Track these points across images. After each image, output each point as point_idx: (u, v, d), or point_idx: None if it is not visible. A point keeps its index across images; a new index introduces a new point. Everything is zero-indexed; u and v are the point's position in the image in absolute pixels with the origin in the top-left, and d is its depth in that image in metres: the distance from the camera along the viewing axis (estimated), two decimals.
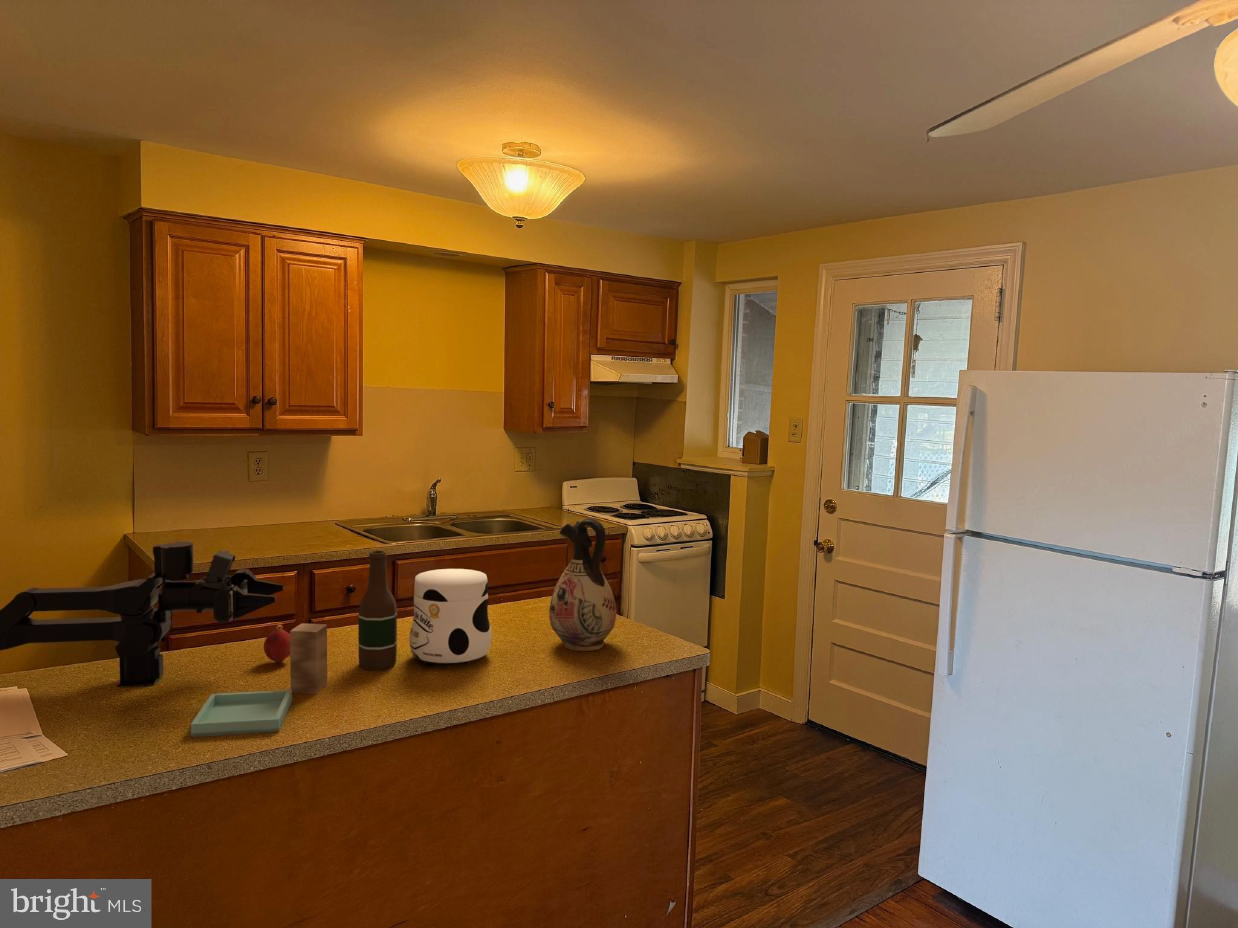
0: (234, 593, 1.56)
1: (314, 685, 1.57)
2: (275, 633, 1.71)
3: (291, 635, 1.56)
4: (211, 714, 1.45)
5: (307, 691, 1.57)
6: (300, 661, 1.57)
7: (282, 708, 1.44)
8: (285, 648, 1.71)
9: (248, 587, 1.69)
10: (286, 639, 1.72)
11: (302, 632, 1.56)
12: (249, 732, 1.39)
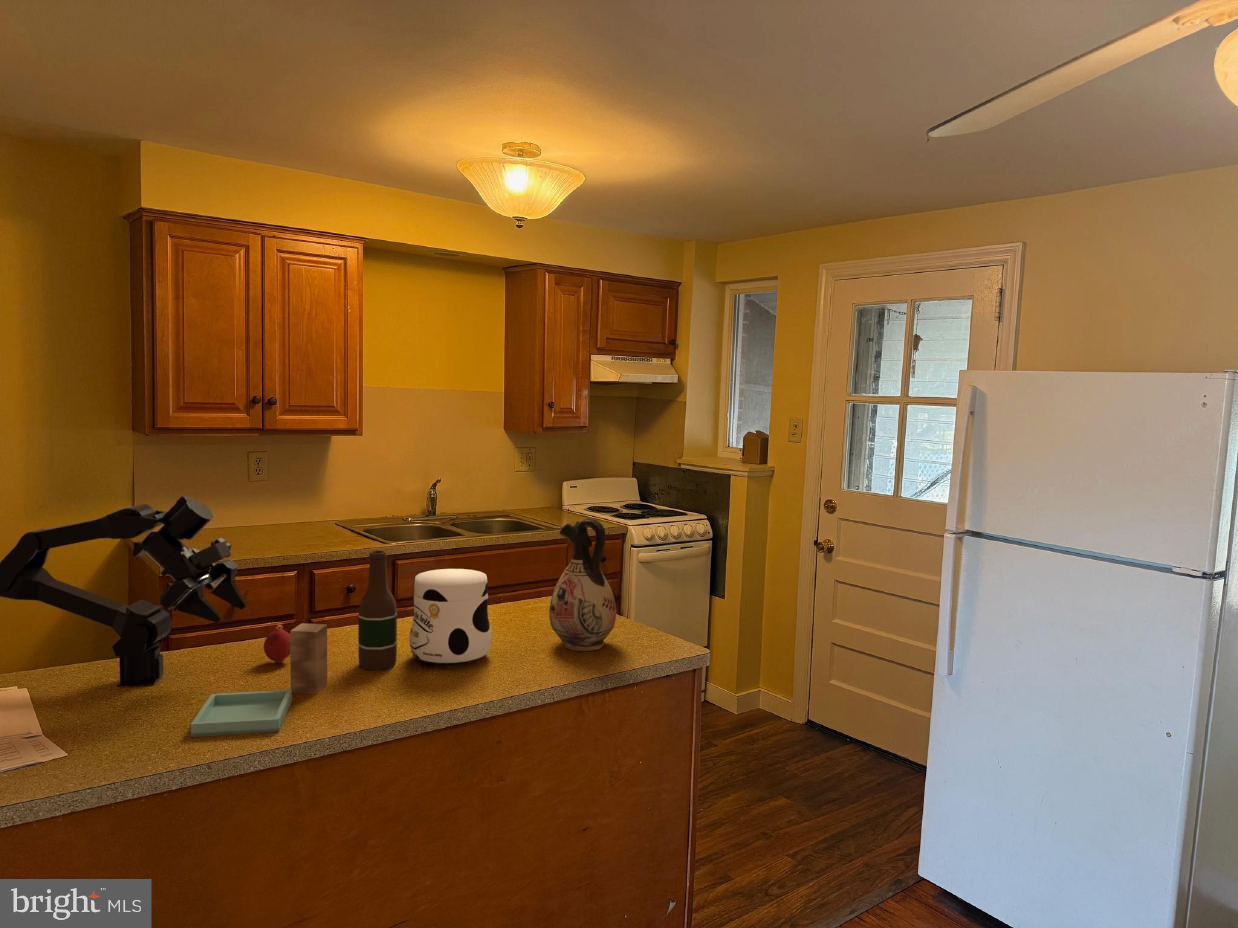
0: (192, 592, 1.51)
1: (314, 685, 1.57)
2: (275, 633, 1.71)
3: (291, 635, 1.56)
4: (211, 714, 1.45)
5: (307, 691, 1.57)
6: (300, 661, 1.57)
7: (282, 708, 1.44)
8: (285, 648, 1.71)
9: (221, 582, 1.64)
10: (286, 639, 1.72)
11: (302, 632, 1.56)
12: (249, 732, 1.39)
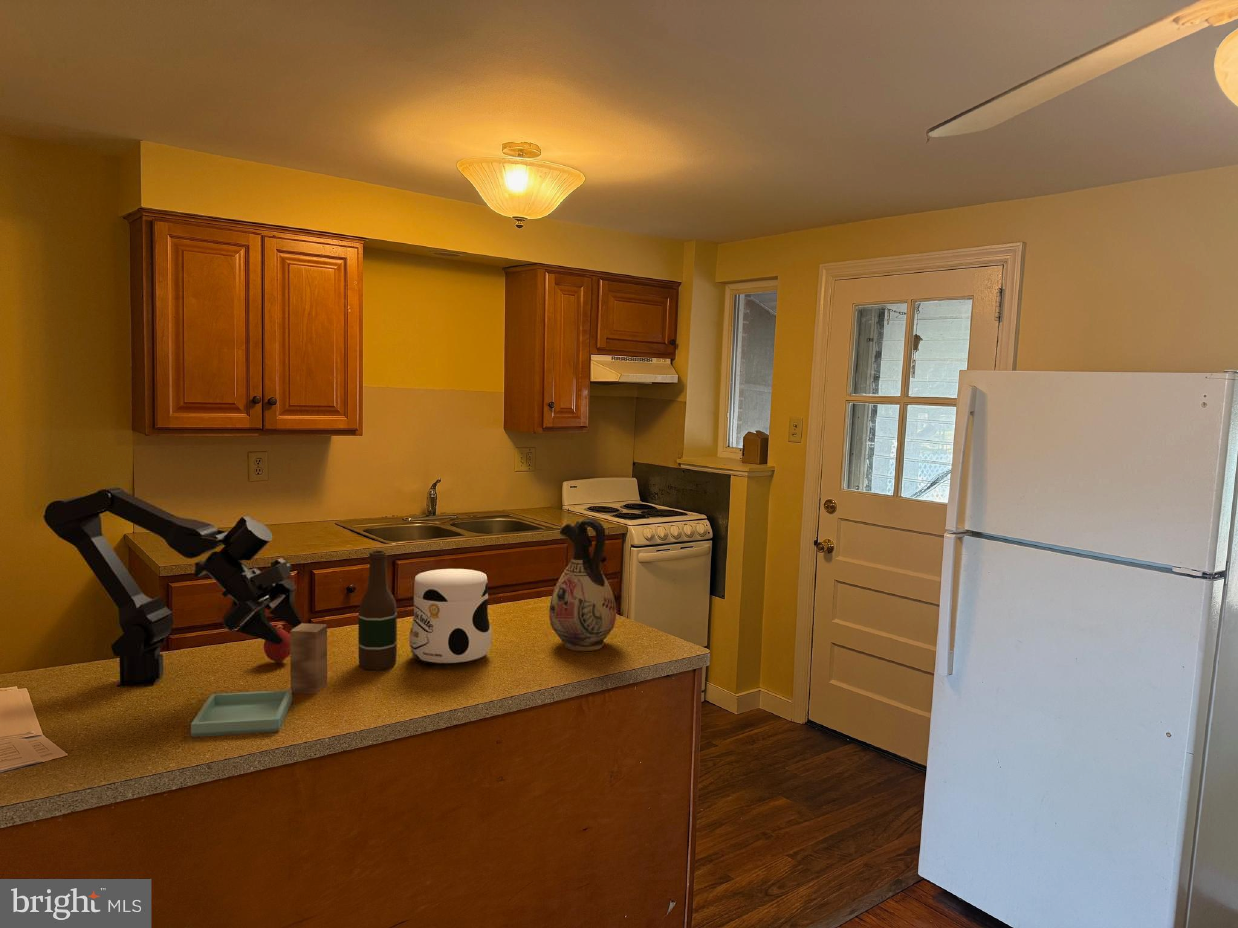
0: (255, 614, 1.50)
1: (314, 685, 1.57)
2: None
3: (291, 635, 1.56)
4: (211, 714, 1.45)
5: (307, 691, 1.57)
6: (300, 661, 1.57)
7: (282, 708, 1.44)
8: (285, 648, 1.71)
9: (280, 603, 1.64)
10: (286, 639, 1.72)
11: (302, 632, 1.56)
12: (249, 732, 1.39)
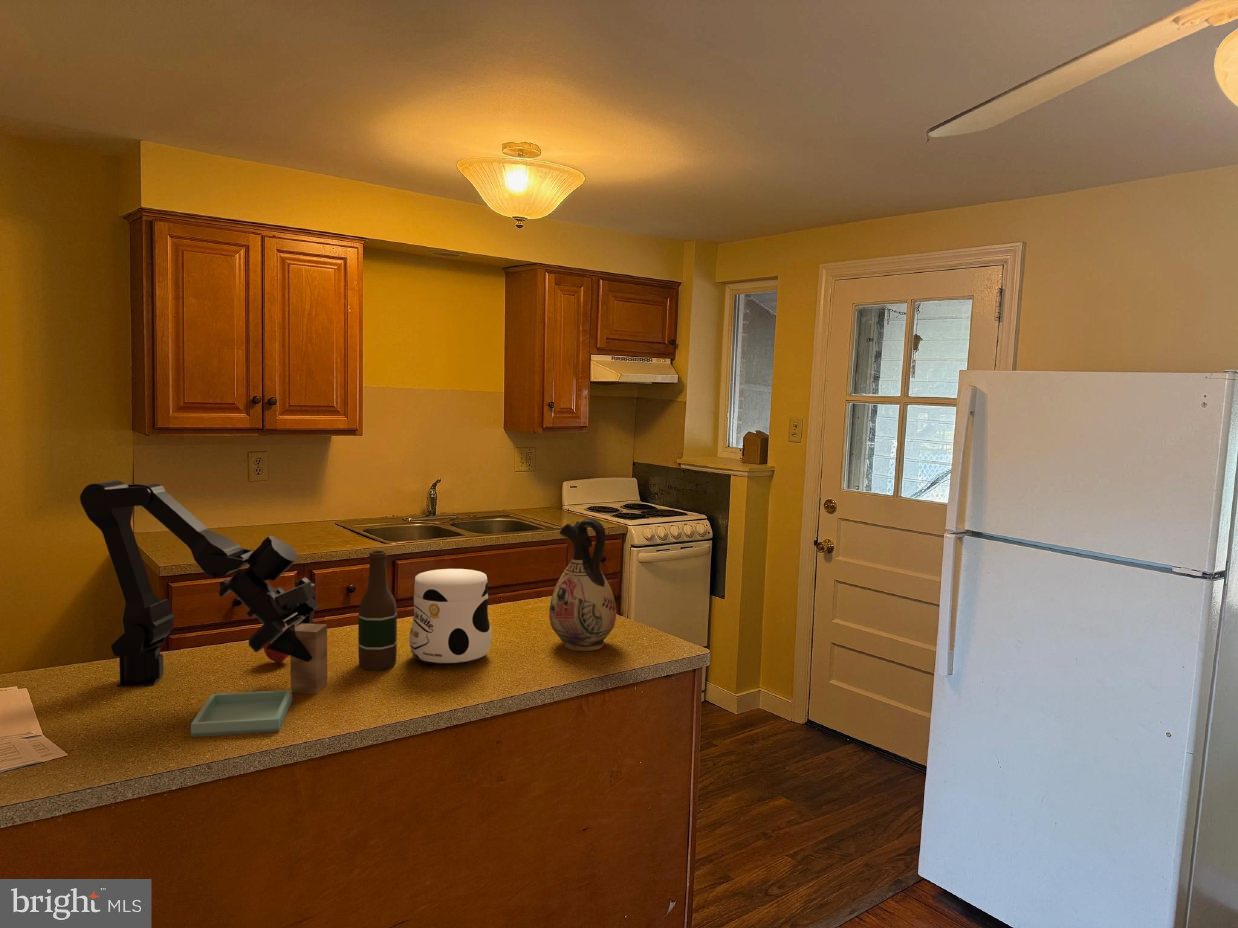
0: (285, 632, 1.53)
1: (314, 685, 1.57)
2: None
3: None
4: (211, 714, 1.45)
5: (307, 691, 1.57)
6: (300, 661, 1.57)
7: (282, 708, 1.44)
8: None
9: (299, 624, 1.62)
10: None
11: (302, 632, 1.56)
12: (249, 732, 1.39)
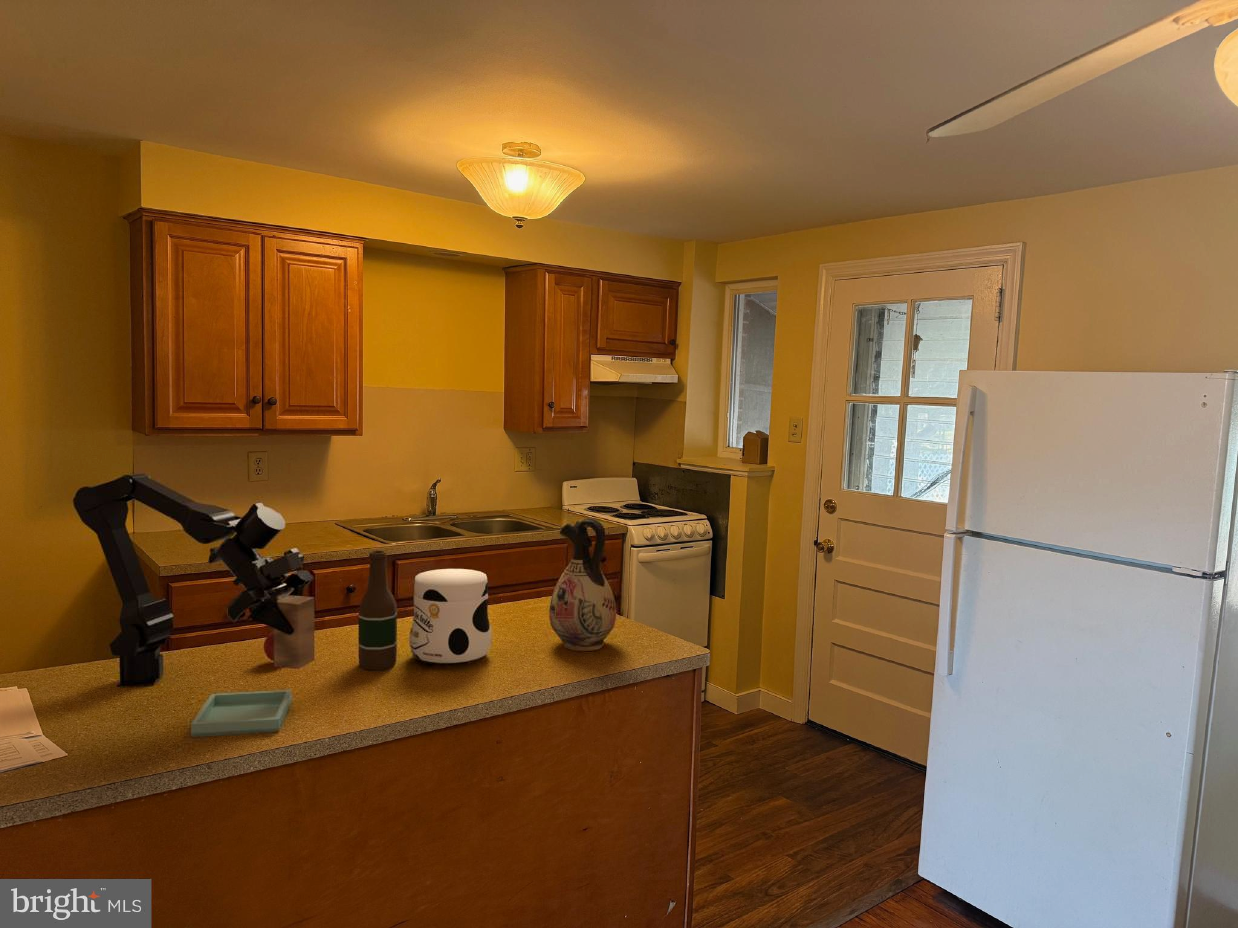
0: (264, 602, 1.47)
1: (296, 660, 1.51)
2: None
3: None
4: (211, 714, 1.45)
5: (290, 665, 1.51)
6: (283, 634, 1.51)
7: (282, 708, 1.44)
8: None
9: None
10: None
11: (285, 603, 1.50)
12: (249, 732, 1.39)
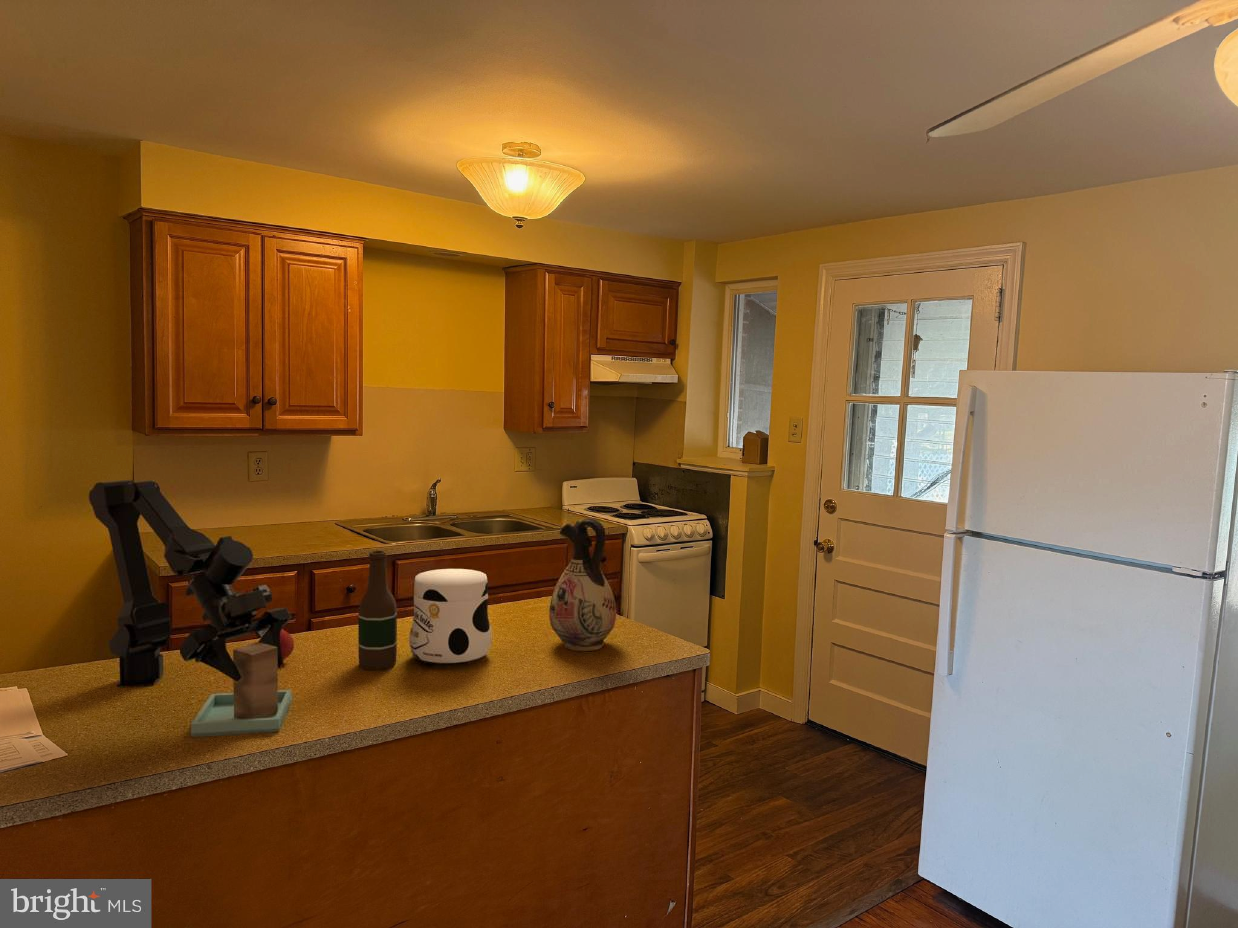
0: (208, 645, 1.38)
1: (251, 713, 1.42)
2: None
3: (234, 654, 1.43)
4: (211, 714, 1.45)
5: (246, 718, 1.42)
6: (240, 684, 1.42)
7: (282, 708, 1.44)
8: (285, 648, 1.71)
9: (265, 633, 1.49)
10: (286, 639, 1.72)
11: (241, 652, 1.42)
12: (249, 732, 1.39)
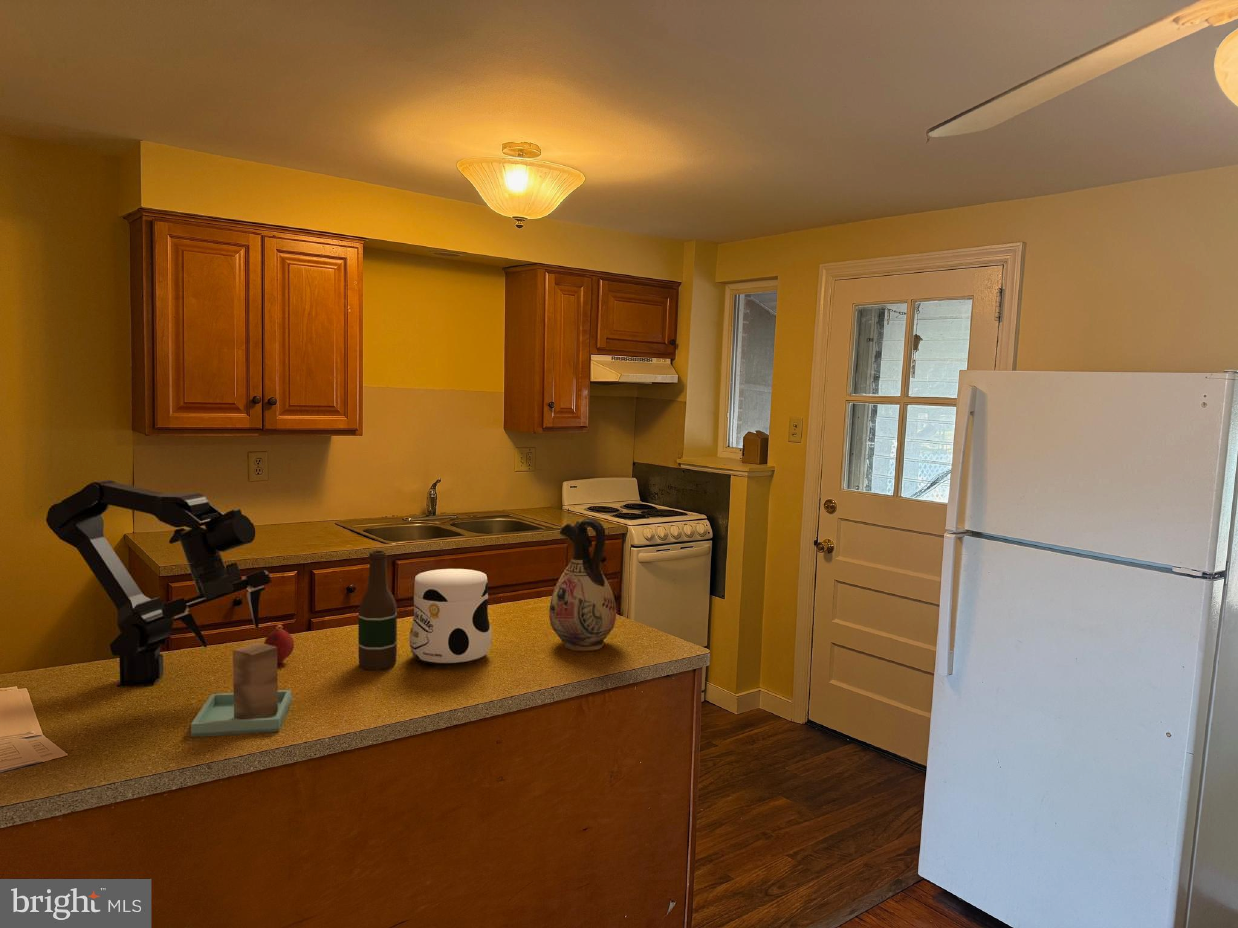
0: (174, 620, 1.50)
1: (251, 713, 1.42)
2: (275, 633, 1.71)
3: (233, 654, 1.43)
4: (211, 714, 1.45)
5: (246, 718, 1.42)
6: (240, 684, 1.42)
7: (282, 708, 1.44)
8: (285, 648, 1.71)
9: (248, 593, 1.59)
10: (286, 639, 1.72)
11: (241, 652, 1.42)
12: (249, 732, 1.39)
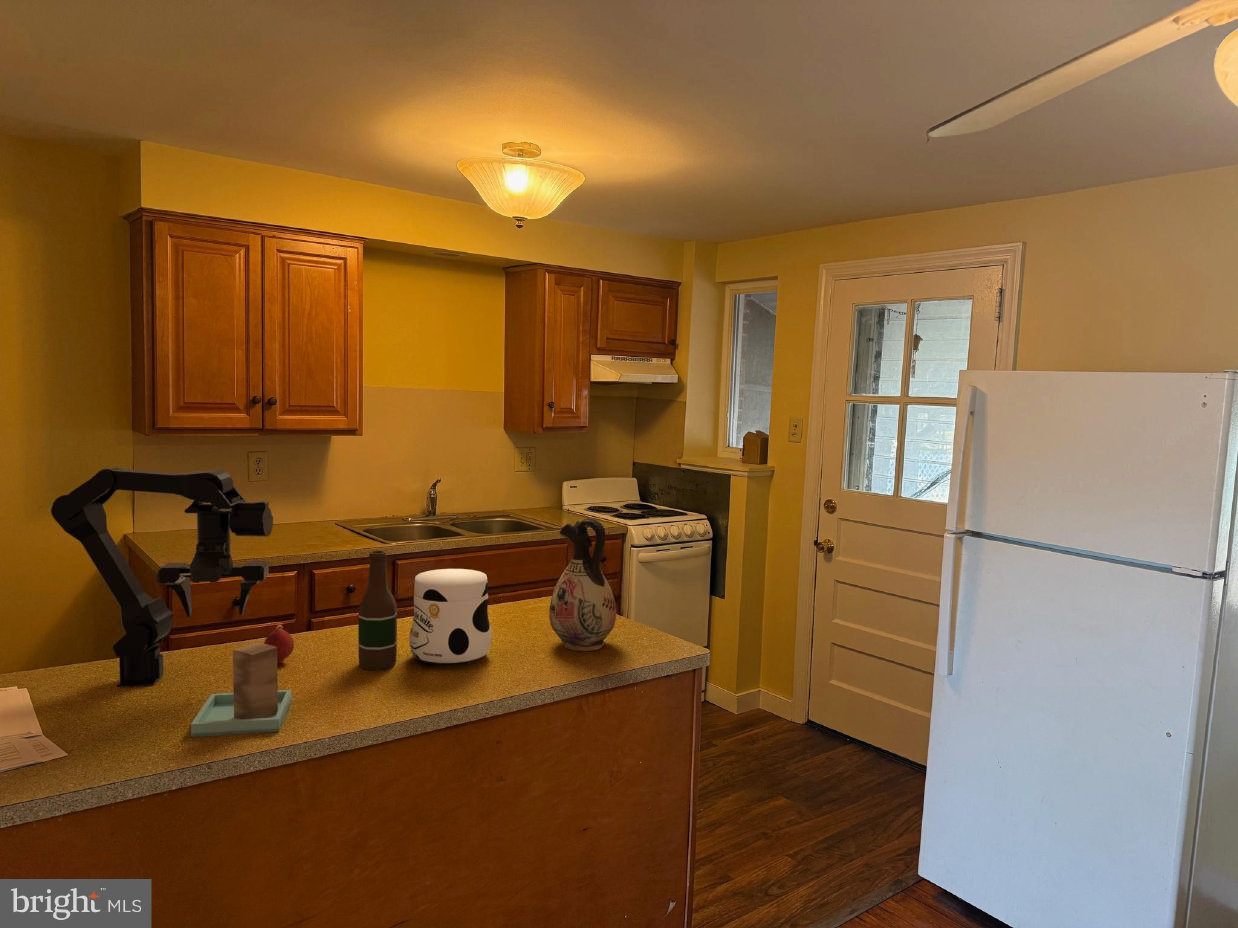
0: (165, 585, 1.57)
1: (251, 713, 1.42)
2: (275, 633, 1.71)
3: (233, 654, 1.43)
4: (211, 714, 1.45)
5: (246, 718, 1.42)
6: (240, 684, 1.42)
7: (282, 708, 1.44)
8: (285, 648, 1.71)
9: (243, 580, 1.62)
10: (286, 639, 1.72)
11: (241, 652, 1.42)
12: (249, 732, 1.39)
